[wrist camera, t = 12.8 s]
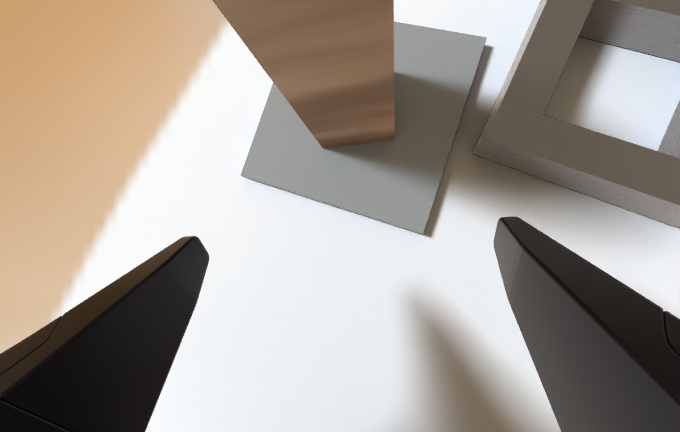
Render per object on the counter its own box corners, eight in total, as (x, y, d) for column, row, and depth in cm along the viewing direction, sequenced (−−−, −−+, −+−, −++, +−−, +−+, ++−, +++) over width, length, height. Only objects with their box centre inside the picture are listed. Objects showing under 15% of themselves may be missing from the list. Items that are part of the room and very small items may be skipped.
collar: (675, 226, 15) (730, 223, 12) (472, 153, 17) (485, 138, 15) (755, 42, 15) (825, 2, 13) (544, -7, 17) (568, -49, 15)
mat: (422, 234, 17) (423, 233, 16) (245, 177, 20) (240, 175, 19) (483, 44, 18) (486, 37, 17) (303, 12, 20) (300, 5, 19)
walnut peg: (394, 140, 17) (391, -152, 5) (322, 148, 18) (152, -81, 5) (389, 70, 18) (373, -364, 5) (319, 81, 19) (156, -271, 6)
